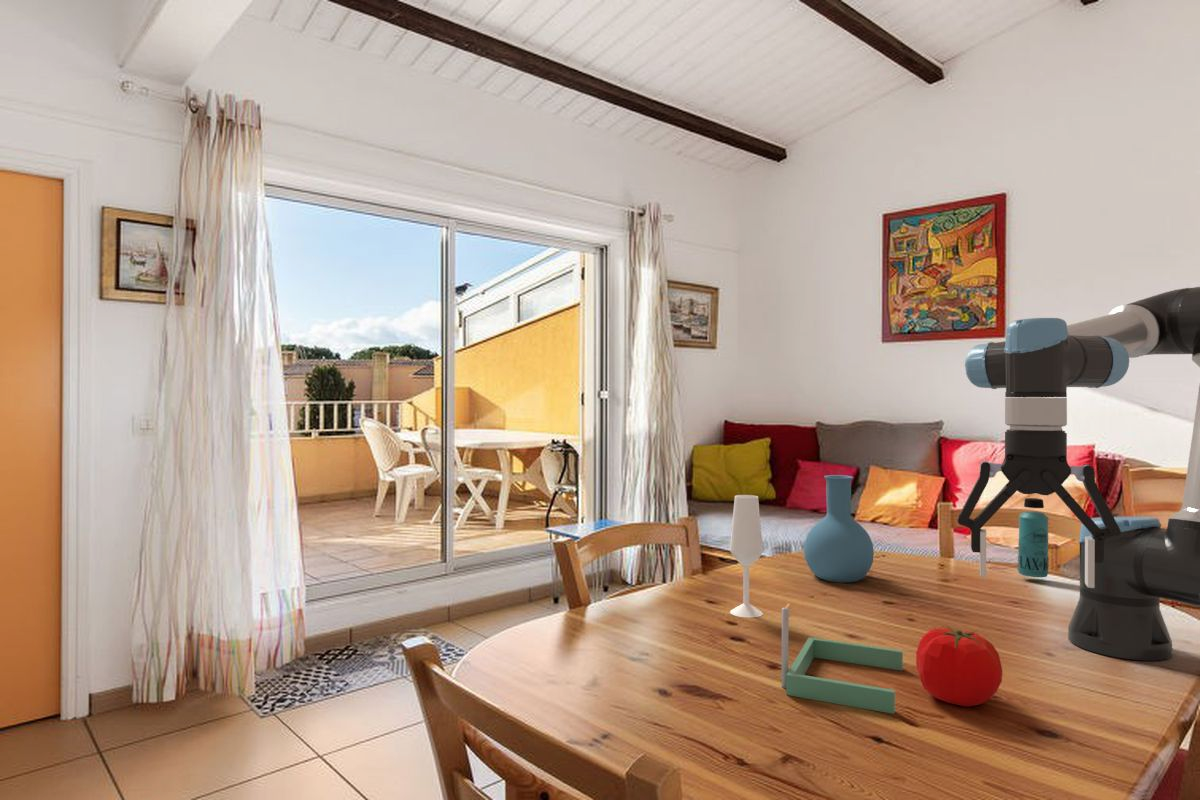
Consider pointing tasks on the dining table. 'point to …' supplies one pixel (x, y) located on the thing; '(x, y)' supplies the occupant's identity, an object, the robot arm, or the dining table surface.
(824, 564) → the vase
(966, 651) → the tomato
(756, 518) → the champagne flute
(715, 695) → the dining table surface
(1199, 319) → the robot arm
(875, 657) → the green u-shaped frame
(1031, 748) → the dining table surface
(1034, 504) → the beverage bottle
